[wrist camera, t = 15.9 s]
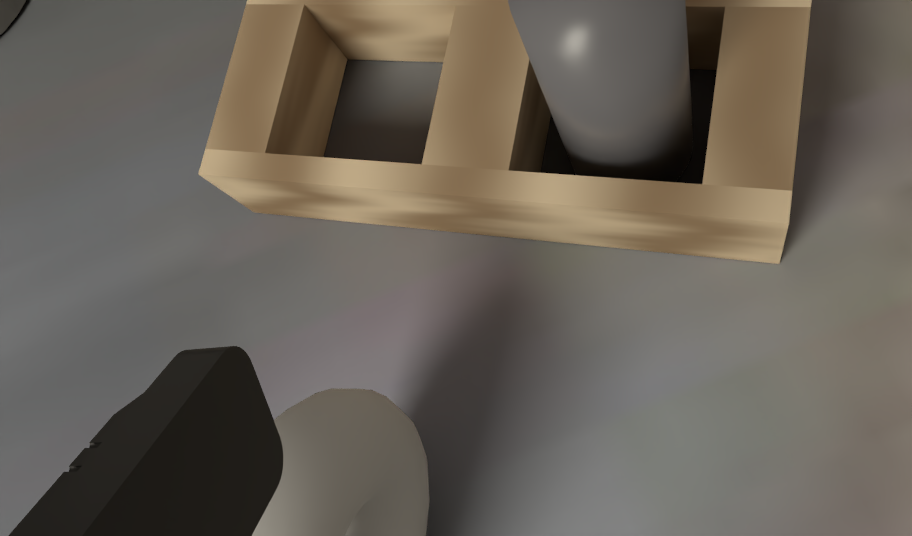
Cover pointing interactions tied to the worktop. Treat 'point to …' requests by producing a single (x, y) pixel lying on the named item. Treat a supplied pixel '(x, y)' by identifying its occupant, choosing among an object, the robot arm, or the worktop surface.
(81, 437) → the worktop surface
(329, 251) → the worktop surface
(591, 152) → the plug
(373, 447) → the donut
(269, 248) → the worktop surface
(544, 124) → the socket board
